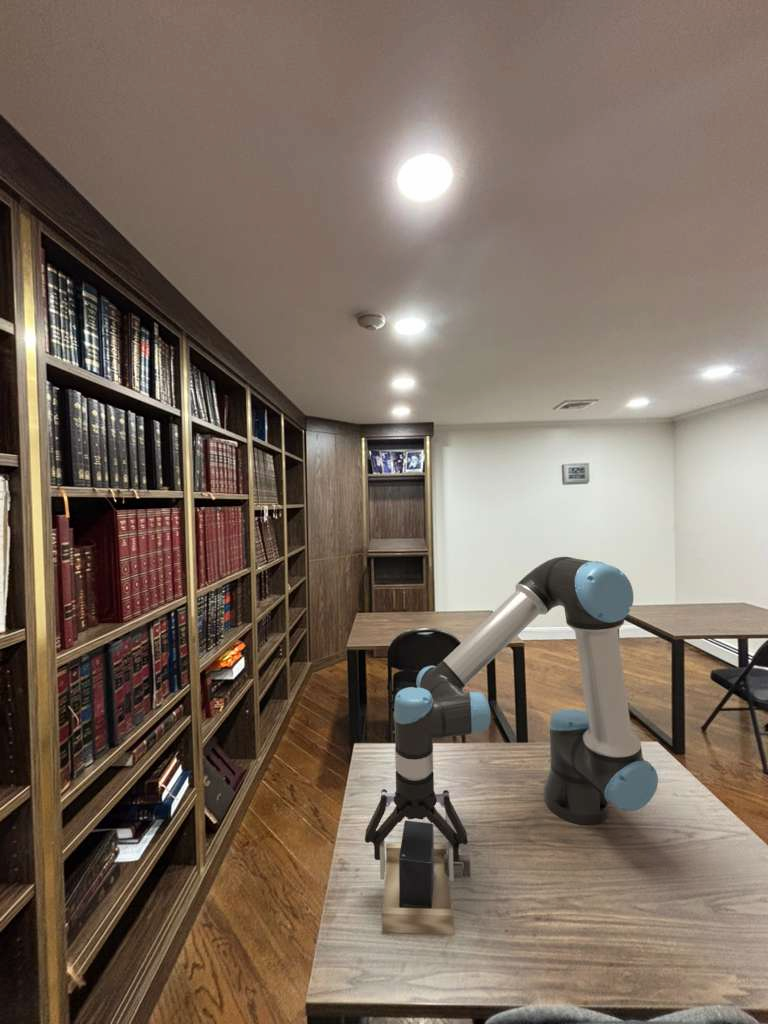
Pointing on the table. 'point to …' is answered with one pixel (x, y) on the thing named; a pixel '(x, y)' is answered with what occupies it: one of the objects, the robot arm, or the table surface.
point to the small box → (416, 865)
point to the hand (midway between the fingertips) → (416, 874)
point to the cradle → (420, 918)
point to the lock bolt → (458, 865)
